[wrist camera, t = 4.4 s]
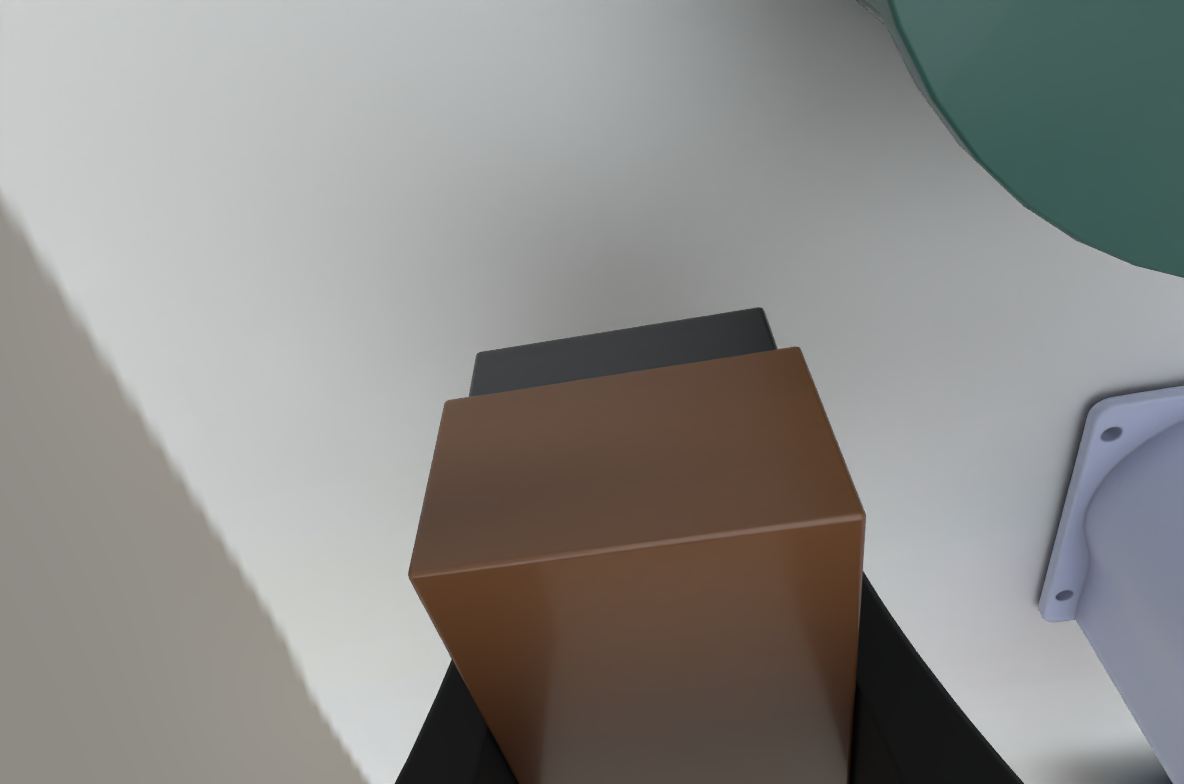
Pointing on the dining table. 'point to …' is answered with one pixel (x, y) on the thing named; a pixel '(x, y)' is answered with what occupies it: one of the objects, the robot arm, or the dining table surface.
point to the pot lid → (1064, 109)
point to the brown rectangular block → (649, 558)
